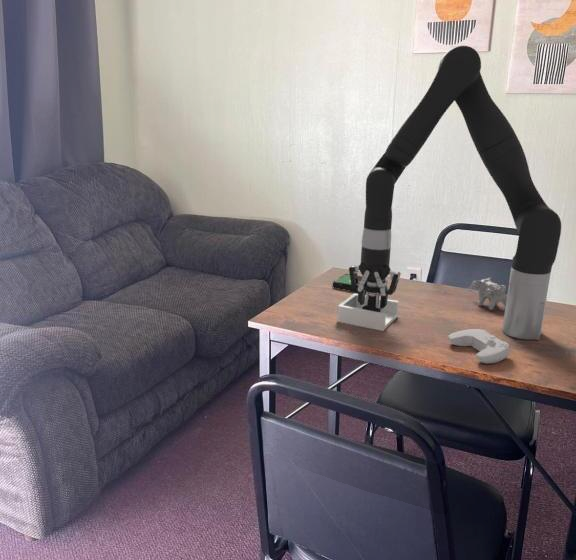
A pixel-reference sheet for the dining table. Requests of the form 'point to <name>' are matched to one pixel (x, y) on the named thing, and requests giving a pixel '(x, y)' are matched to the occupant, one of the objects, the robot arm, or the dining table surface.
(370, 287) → the push button
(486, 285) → the elephant statuette
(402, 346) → the dining table surface
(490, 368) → the dining table surface
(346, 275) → the disk drive
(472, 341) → the game controller
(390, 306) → the box
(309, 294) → the dining table surface
